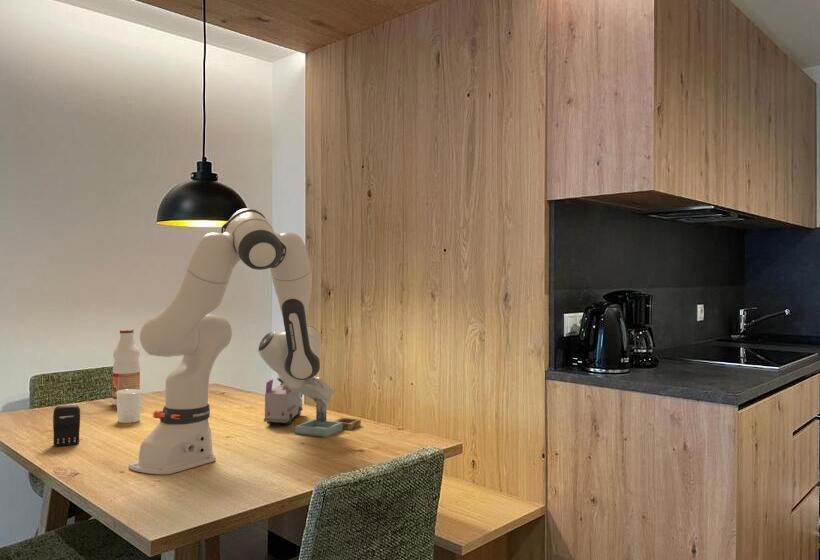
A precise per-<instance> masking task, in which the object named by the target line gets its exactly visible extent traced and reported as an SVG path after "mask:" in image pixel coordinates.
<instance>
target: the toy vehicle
mask: <svg viewBox="0 0 820 560" xmlns="http://www.w3.org/2000/svg"><path fill="white" fill-rule="evenodd" d="M273 383H274V379H270V380H268V381H266V385H265V393H264V418H263V422H265V423H266V424H269V425H273V424H274V423H283V424H284V425H285V426H286V425H287V426H290V425H291V424H292V422H293V418H294V417H295V418H300V417H301V414H302V413H301V412H302V411H303V399H302V398H303V394H299V393H295V392H293V391H292V390H290V389H289V388H288V387H287V386H286V385H285V384H284V383H281V382H280V384H279V385H278V386H276V387H274V388H273Z"/></svg>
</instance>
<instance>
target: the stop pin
mask: <svg viewBox="0 0 820 560" xmlns="http://www.w3.org/2000/svg"><path fill="white" fill-rule="evenodd" d="M315 403H316V405H315V407H316V408H315V409H316V412H315V416H316V417H315V419H316V421H317V422H325V421H326V420H327V405H328V404H327V405H325V404H323V403H322V402H321V399H318V398H316V402H315Z"/></svg>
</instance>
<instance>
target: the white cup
mask: <svg viewBox="0 0 820 560" xmlns="http://www.w3.org/2000/svg"><path fill="white" fill-rule="evenodd" d="M142 396H143V390H142V389H140V390H139V389H126V390H120V391H117V406H116V409H117V421H118V423H121V424H130V423H132V422H133V423H137V422H140V419H141V411H142V401H143V400H142V399H143V397H142Z"/></svg>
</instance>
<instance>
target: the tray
mask: <svg viewBox="0 0 820 560" xmlns="http://www.w3.org/2000/svg"><path fill="white" fill-rule="evenodd" d="M294 430H295V431H294V434H295V435H301V436H306V437H307V436H308V437H315V438H316V437H317V438H322V439H323V438H324V439H327V438H329V437H331V436H333V435H335V434H337V433H339V432H341V431H343V430H344V429H343V422H335V420H327V419H326V421H325V422H317V421H316V418H312V419H309V420H307V421H305V422H302V423H300V424H298V425H295V427H294Z"/></svg>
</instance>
